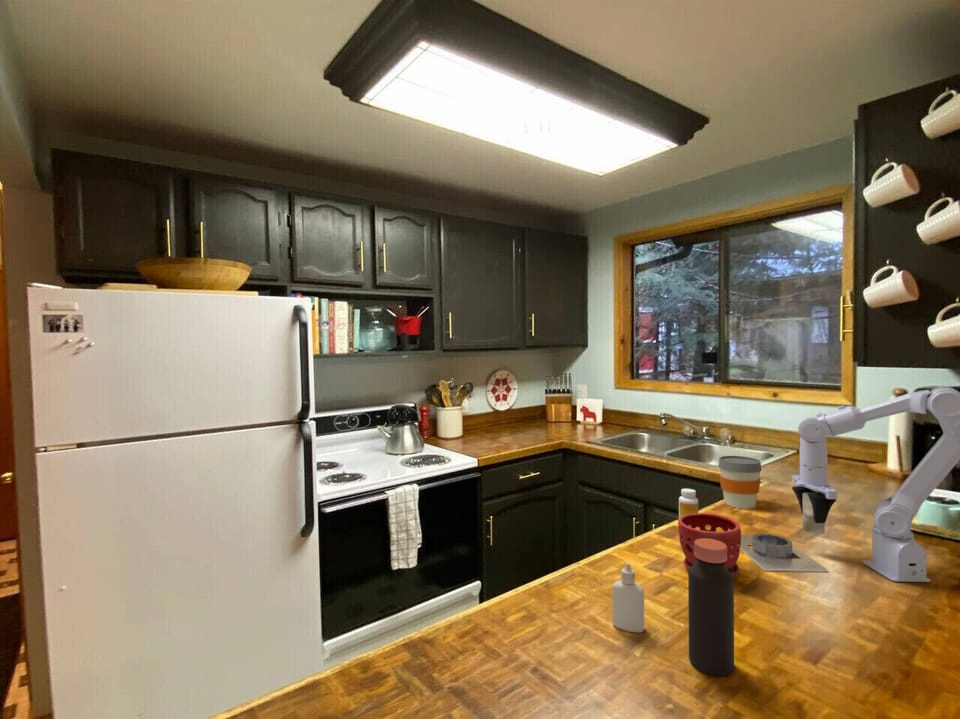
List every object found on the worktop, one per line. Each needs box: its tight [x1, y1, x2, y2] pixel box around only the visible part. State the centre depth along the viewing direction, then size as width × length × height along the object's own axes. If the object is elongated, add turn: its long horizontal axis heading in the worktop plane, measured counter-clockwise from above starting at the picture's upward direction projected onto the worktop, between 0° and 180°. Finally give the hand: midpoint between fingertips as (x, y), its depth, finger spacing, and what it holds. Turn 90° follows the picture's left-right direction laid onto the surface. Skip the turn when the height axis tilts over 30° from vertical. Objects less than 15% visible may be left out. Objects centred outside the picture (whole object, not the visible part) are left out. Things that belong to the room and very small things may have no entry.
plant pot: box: [677, 512, 742, 579], centre depth 110 cm, size 13×13×12 cm
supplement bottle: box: [678, 488, 699, 519], centre depth 141 cm, size 5×5×10 cm
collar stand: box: [740, 533, 828, 573], centre depth 120 cm, size 20×14×3 cm
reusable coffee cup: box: [718, 455, 762, 510], centre depth 157 cm, size 13×13×15 cm
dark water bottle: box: [687, 538, 735, 677], centre depth 78 cm, size 7×7×20 cm
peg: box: [802, 492, 826, 535], centre depth 119 cm, size 4×4×9 cm
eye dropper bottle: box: [611, 562, 645, 633], centre depth 89 cm, size 4×6×12 cm
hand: (813, 519), depth 119 cm, fingers closed on peg, 4 cm apart
